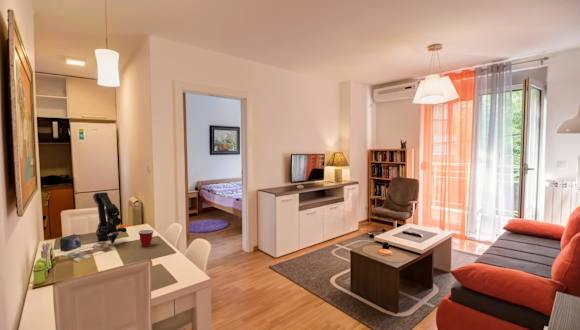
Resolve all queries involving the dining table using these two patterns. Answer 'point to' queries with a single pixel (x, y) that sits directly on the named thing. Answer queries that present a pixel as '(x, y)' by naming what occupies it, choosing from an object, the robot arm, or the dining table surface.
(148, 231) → the plastic cup
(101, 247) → the maple block
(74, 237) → the small box
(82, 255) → the trap deck
